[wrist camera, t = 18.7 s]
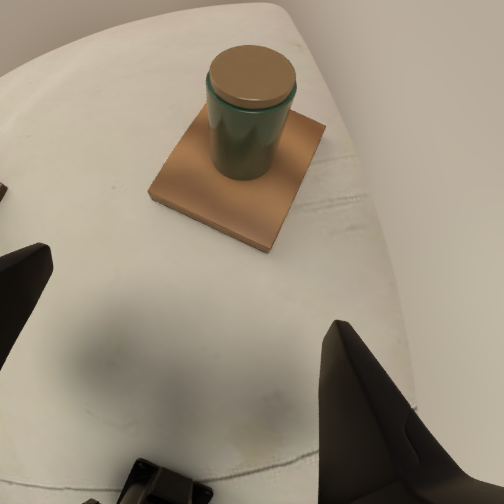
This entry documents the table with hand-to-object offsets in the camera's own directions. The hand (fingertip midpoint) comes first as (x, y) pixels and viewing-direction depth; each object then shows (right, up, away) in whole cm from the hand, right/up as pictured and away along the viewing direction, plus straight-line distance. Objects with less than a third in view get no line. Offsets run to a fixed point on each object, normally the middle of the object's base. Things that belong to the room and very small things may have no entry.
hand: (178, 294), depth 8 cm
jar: (+1, +9, +15) cm, 17 cm away
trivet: (+1, +8, +16) cm, 18 cm away
